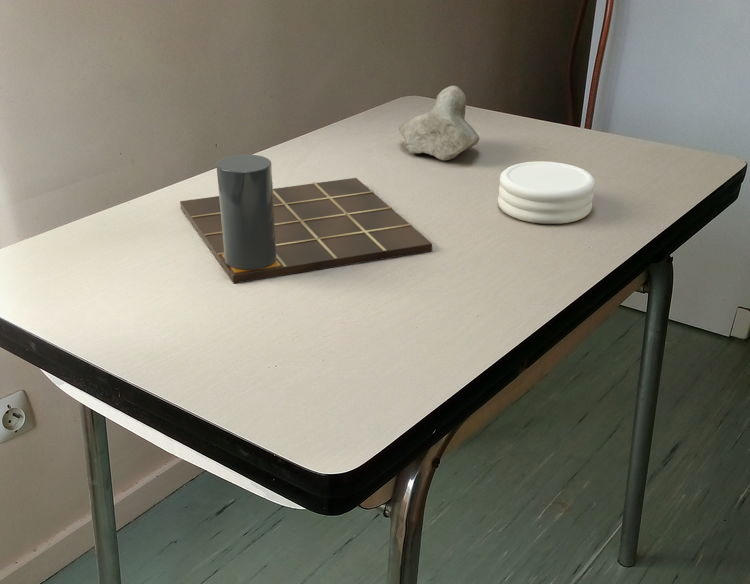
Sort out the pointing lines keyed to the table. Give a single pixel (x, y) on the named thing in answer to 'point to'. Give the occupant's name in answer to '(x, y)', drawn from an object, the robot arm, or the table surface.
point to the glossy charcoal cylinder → (247, 211)
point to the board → (317, 229)
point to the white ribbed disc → (546, 192)
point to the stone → (441, 127)
